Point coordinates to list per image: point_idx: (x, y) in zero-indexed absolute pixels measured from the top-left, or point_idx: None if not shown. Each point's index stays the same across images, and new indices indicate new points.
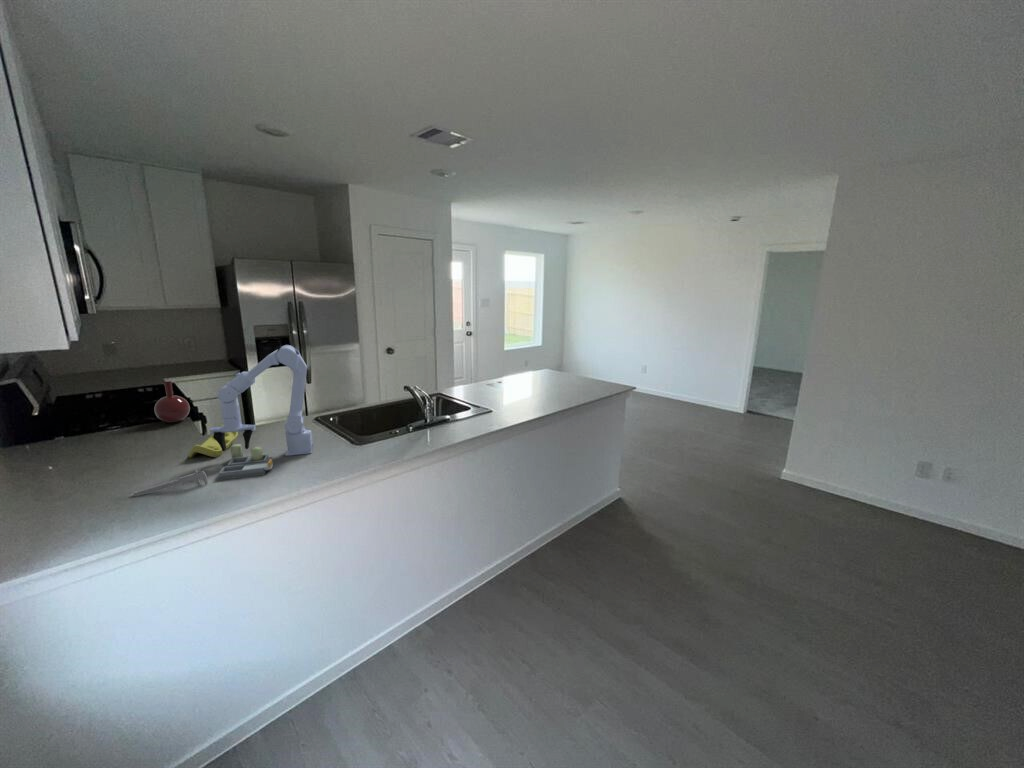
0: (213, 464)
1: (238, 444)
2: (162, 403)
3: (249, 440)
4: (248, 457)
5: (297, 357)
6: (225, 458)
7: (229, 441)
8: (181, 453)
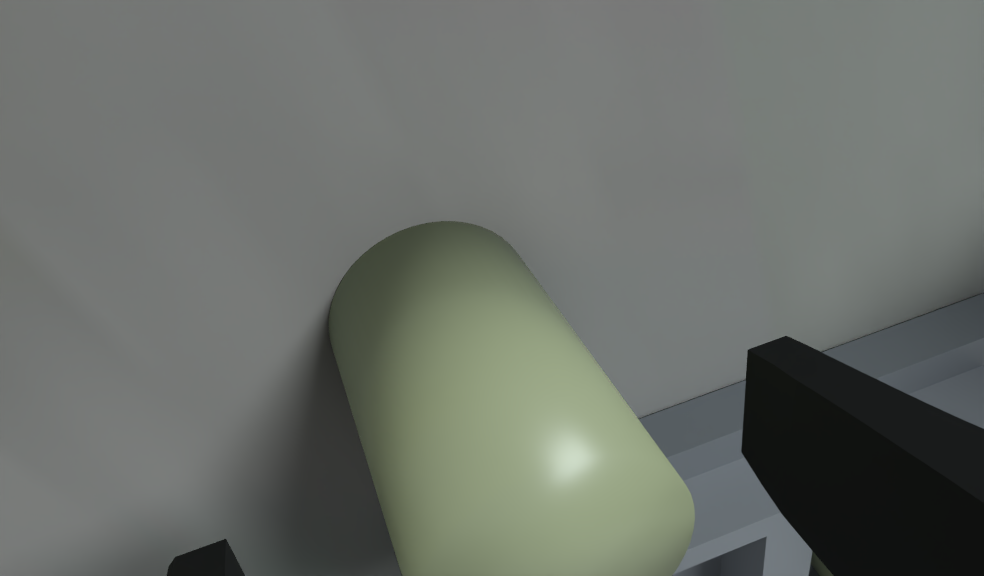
0: (83, 570)
1: (606, 490)
2: None
3: (975, 443)
4: (773, 549)
5: None
6: (123, 311)
7: None
8: None
